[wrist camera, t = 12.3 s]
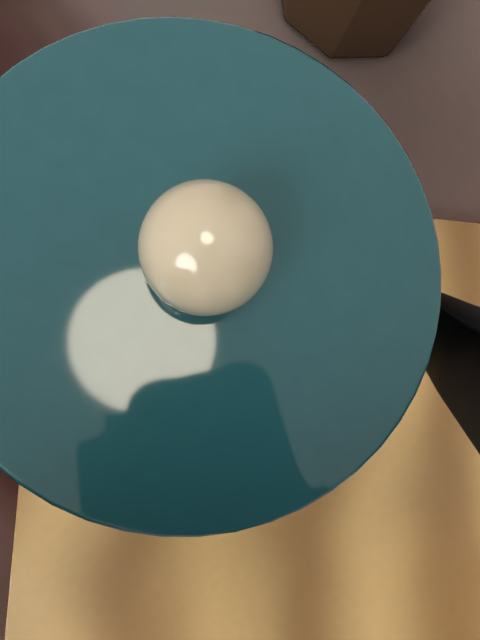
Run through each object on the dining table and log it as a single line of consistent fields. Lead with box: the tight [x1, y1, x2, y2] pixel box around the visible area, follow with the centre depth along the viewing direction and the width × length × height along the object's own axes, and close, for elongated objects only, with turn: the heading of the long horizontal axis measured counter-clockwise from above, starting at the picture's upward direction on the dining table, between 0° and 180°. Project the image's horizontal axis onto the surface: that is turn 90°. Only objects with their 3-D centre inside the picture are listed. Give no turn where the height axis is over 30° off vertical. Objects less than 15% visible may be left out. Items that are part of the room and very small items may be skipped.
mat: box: [5, 219, 480, 640], centre depth 18 cm, size 24×24×1 cm
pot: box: [0, 16, 441, 537], centre depth 10 cm, size 7×7×13 cm
